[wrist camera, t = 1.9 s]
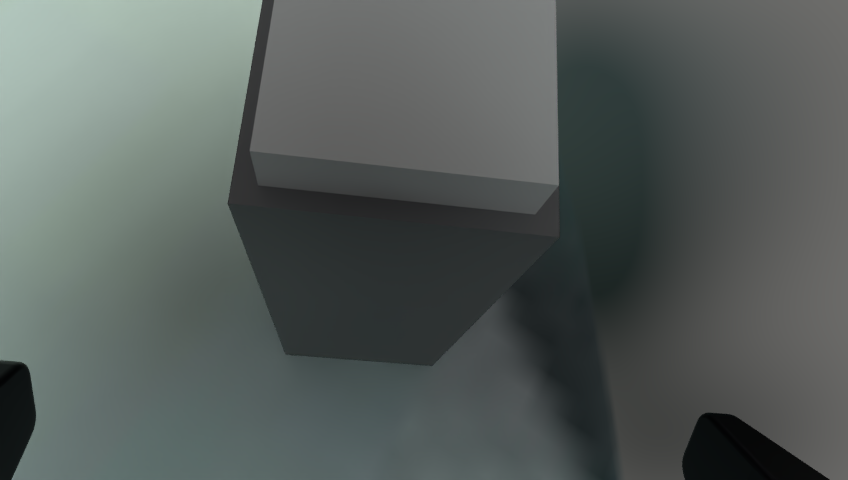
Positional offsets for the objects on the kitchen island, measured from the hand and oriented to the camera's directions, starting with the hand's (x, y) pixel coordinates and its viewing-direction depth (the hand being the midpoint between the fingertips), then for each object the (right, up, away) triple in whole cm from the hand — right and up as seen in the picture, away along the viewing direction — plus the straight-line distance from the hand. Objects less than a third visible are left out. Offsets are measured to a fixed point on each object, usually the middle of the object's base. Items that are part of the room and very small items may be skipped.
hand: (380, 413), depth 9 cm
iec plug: (-1, +1, +12) cm, 12 cm away
